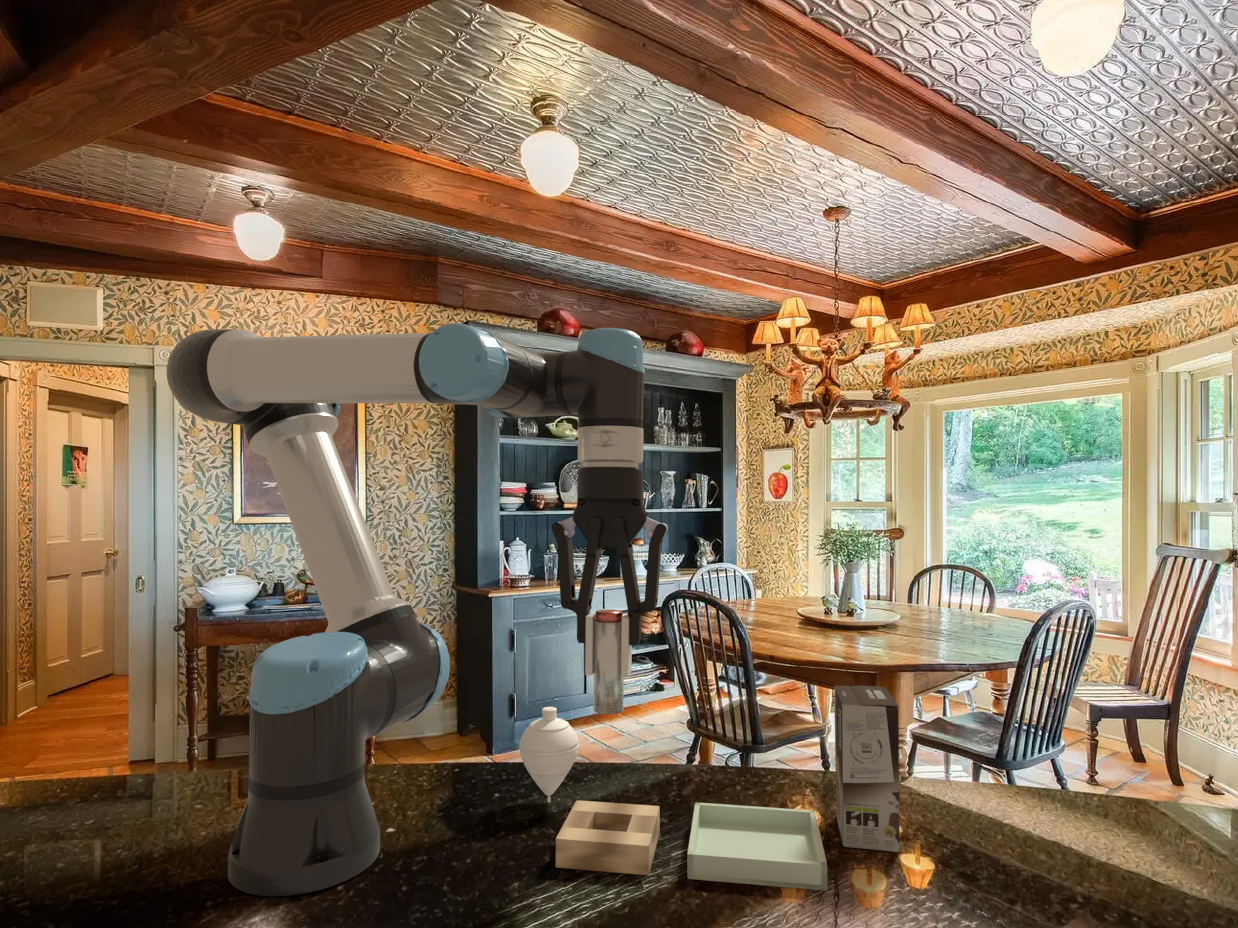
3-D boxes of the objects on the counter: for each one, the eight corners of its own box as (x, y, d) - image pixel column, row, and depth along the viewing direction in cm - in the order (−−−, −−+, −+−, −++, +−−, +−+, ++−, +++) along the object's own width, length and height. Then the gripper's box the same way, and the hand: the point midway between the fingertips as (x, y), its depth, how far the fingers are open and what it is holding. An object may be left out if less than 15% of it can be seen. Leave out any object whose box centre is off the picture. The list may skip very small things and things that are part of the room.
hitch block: (555, 867, 78) (555, 838, 78) (576, 825, 88) (576, 800, 88) (649, 875, 77) (649, 845, 77) (659, 831, 87) (659, 805, 87)
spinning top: (533, 820, 90) (533, 720, 90) (509, 797, 96) (510, 704, 97) (589, 806, 94) (589, 711, 94) (562, 786, 100) (563, 696, 101)
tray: (687, 878, 76) (687, 853, 76) (695, 823, 89) (695, 802, 89) (827, 890, 74) (827, 865, 74) (814, 832, 87) (814, 810, 87)
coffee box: (902, 853, 81) (900, 705, 82) (841, 847, 83) (840, 702, 83) (889, 818, 90) (887, 685, 91) (834, 813, 92) (833, 682, 92)
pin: (590, 713, 82) (591, 613, 82) (596, 704, 85) (597, 608, 86) (620, 714, 81) (621, 614, 82) (625, 706, 85) (626, 609, 85)
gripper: (531, 464, 82) (528, 677, 81) (679, 464, 79) (678, 685, 78) (549, 467, 89) (546, 662, 88) (684, 467, 87) (683, 668, 86)
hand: (608, 672), depth 83 cm, fingers closed on pin, 3 cm apart
